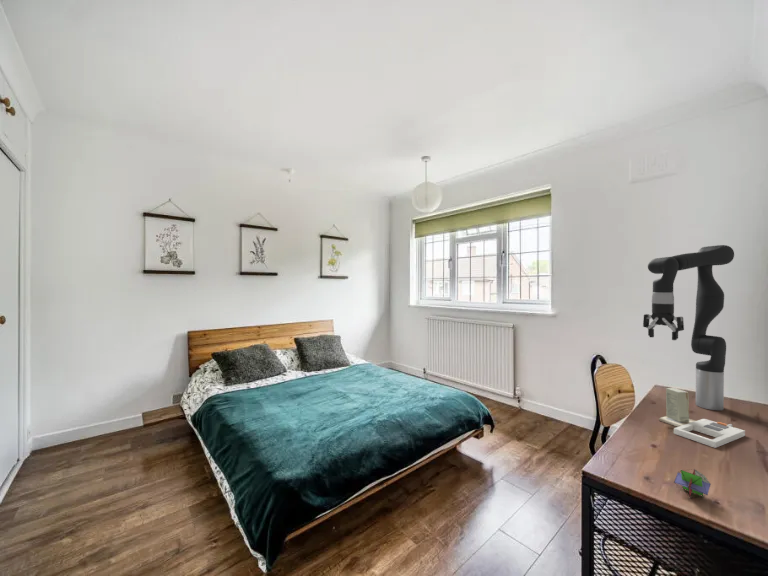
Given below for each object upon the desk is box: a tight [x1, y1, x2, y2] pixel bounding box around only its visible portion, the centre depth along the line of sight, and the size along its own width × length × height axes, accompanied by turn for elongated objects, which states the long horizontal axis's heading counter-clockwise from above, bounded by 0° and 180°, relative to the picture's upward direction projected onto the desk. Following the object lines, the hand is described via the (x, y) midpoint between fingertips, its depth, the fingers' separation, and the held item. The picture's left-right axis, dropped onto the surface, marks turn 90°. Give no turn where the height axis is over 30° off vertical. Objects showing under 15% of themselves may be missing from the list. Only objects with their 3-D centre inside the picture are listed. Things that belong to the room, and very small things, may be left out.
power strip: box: [673, 418, 746, 449], centre depth 125 cm, size 28×12×3 cm, turn 114°
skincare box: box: [665, 387, 690, 422], centre depth 135 cm, size 6×4×12 cm
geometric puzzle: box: [673, 468, 712, 499], centre depth 89 cm, size 7×7×8 cm
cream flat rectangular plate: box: [658, 415, 697, 427], centre depth 135 cm, size 11×8×1 cm
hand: (662, 338), depth 145 cm, fingers open, 8 cm apart
